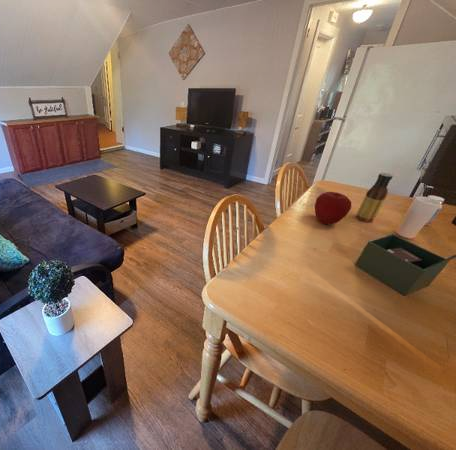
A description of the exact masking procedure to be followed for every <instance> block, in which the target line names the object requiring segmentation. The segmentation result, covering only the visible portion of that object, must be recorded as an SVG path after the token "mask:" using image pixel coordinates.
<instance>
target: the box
mask: <svg viewBox="0 0 456 450" xmlns="http://www.w3.org/2000/svg"><path fill="white" fill-rule="evenodd" d="M387 251H389V252H391V253H393V254H394V255H396V256H398V257H400V258H402V259H404V260H406V261H408V262H410V263H412V264H414V265H415V266H418V265H419V263H420V262H421V261H422V259H420V258H418V257H416V256H415V255H413V254H411V253H409V252H408V251H406V250H404V249H402V248H396V249H390V250H387Z"/></svg>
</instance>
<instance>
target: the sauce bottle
mask: <svg viewBox="0 0 456 450" xmlns="http://www.w3.org/2000/svg"><path fill="white" fill-rule="evenodd" d="M392 178H393V174H391V173H387V172H379V174H378V176H377V179H376V181H375V183H374V184H373V185H372V186H371V187H370V188H369V190H368V191H366V194H365V195H364V197H363V200H362V202H361V203H360V206H359V208H358V210H357V212H356V218H357V219H358V220H360V221H363V222H369V223H370V222H373V221H375V219H376V217H377V215H378V213H379V212H380V210H381V208H382V206H383V204H384V202H385V200H386V197H387V195H388V193H389V192H388V186H389V184H390V181H391V180H392Z"/></svg>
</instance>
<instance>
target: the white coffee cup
mask: <svg viewBox="0 0 456 450" xmlns="http://www.w3.org/2000/svg"><path fill="white" fill-rule="evenodd" d="M440 205H442V204H441V202H439V201H438V200H435V199H432V198H428V196H421V195H419V196H416V197H414V199H413V200H412V202H411V203H410V205H409V207H408V208H407V210H406V211H405V212H406V213H405V215H404V217H403V219H402V221H401V223H400V225H399V226H398V228H397V230H396V234H397V236H399V237H401V238H403V239H404V238H405V239H411V240H412V239H415V238H416V236H417V235H418V234H419V232H420V231H421V230H422V229H423V228H424V227H425V226H426V225H425V224H426V223H427V222H428V221H429V220H430V218H431V217H432V216H433V215H434V214H435V212H436V211H437V210H438V208H439V207H440Z"/></svg>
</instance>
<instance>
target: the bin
mask: <svg viewBox="0 0 456 450" xmlns="http://www.w3.org/2000/svg"><path fill="white" fill-rule="evenodd" d="M396 248H402V249H404V250H406V251H408V252H409V253H411V254H413V255H415V256H416V257H418V258H420V259H422V261H421V262H420V263H419V265H418V266H415V265H414V264H412V263H410V262H408V261H406V260H404V259H402V258H400V257H398V256H396V255H394V254H393V253H391V252H389V251H387V250H390V249H396ZM445 259H446V258H445V257H443V256H441V255H438V254H436V253H434V252H432V251H431V250H428V249H426V248H424V247H422V246H421V245H417V244H415V243H413V242H411V241H409V240H406V238H405V239H404V238H403V237H401V236H399V235H396V234H394V233H392V234H388V235H386V236H382V237H379V238H375V239H372V240H369V241H367V243H366V245H365V246H364V248H363V250H362V251H361V253H360V254H359V257H358V258H357V261H356V262H355V264H354V266H355V267H357V268H358V269H360V270H362V271H363V272H365V273H367V274H368V275H369V276H372V277H373V278H374V279H376V280H378V281H379V282H381V283H383V285H386V286H387V287H389V288H390V289H392V290H393V291H395V292H396V293H398V294H400V295H401V296H403V297H405V296H409V295H410V294H412V293H415V292H417V291H419V290H421V289H424V288H426V287H428V286H430V285H431V284H432V283H433V282H434V281H435V279H436V278H437V277H438V276H439V274H440V273H441V272H442V271H443V269H444V268H445V267H446V266H447V265H448V264H449V263H450V261H447V262H445V263H442V264H440V265H437V266H435V267H432V268H430V269H426V268H427V267H430V266H432V265H434V264H436V263H438V262H441V261H443V260H445Z"/></svg>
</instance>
